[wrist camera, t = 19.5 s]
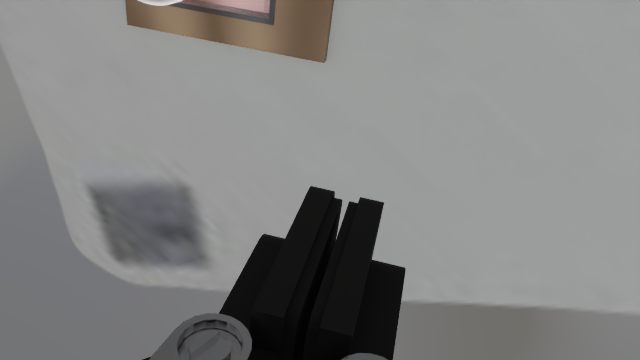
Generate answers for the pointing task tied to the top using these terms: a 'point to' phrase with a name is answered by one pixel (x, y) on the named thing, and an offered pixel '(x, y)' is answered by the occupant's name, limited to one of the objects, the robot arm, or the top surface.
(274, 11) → the picture board
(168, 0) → the smoothie
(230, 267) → the top surface
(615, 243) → the top surface
